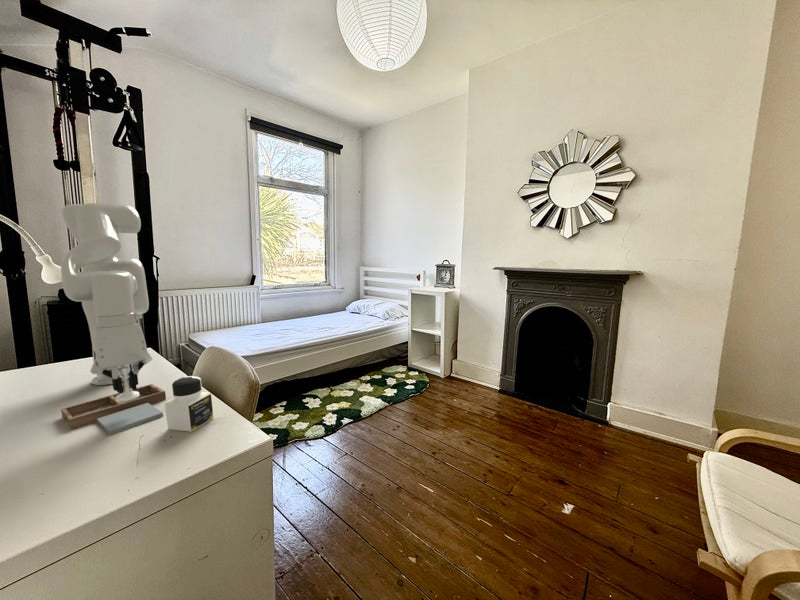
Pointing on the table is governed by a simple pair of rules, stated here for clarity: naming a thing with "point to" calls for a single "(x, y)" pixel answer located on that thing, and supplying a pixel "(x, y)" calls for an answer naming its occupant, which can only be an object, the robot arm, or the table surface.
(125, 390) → the chess piece
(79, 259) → the robot arm
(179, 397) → the medicine bottle
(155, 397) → the bay frame
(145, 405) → the pad
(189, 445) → the table surface
